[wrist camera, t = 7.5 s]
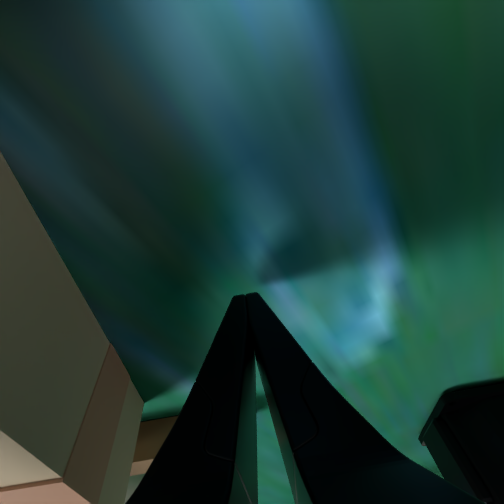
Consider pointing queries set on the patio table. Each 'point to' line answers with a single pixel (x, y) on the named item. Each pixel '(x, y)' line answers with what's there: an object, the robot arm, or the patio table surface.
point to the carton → (56, 375)
